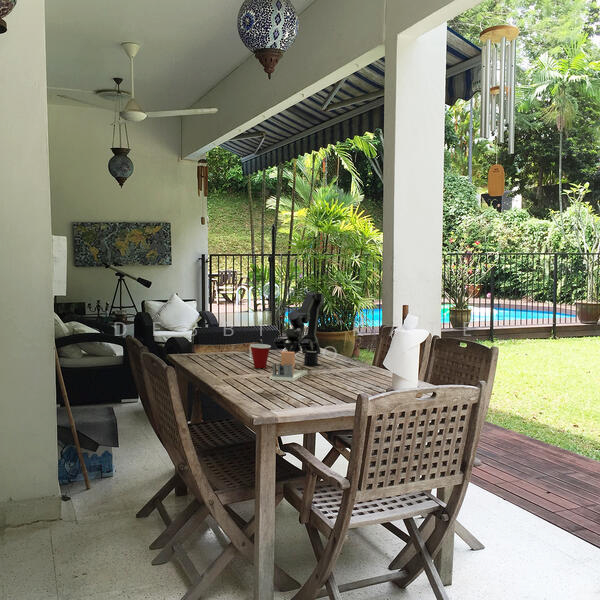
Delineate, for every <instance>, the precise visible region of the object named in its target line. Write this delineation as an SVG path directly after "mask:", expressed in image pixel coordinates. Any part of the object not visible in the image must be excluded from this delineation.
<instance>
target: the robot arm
mask: <svg viewBox="0 0 600 600" xmlns="http://www.w3.org/2000/svg"><path fill="white" fill-rule="evenodd" d="M324 301H325V295H324V294H323V293H322V292H315V291H306V293H305V297H304V300H303V302H302V304H301V306H300V307H299V308H298V309H295V308H294V309H293V310H292V311H289V313H288V314H287V318H288V321H289V324H290V325H291V327H292V328H286V331H285V336H286V339H287V340H285V341H284V338H282V337H275V338H274V340H273V344H274V346H275V349H277V350H284V349H285V350H286V351H287V352H295V355H296V354H298V353H299V352H302V354H304V359H303V364H302V365H303V366H308V367H314V366H320V364H319V363H318V361H319V359H318V358H319V355H321V346H320V345H319V340H318V338H317V331H318V330H317V328H318V321H319V313H320V309H321V308H322V307H323V305H324ZM305 324H307V333H306V335H303V333H304V332H305Z"/></svg>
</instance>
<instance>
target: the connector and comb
mask: <svg viewBox="0 0 600 600" xmlns="http://www.w3.org/2000/svg"><path fill="white" fill-rule="evenodd" d="M283 369H284V373H283V374H281V373H280V371H281V370H283ZM276 373H278V374H276ZM271 375H272V376H274V377H290V378H292V377H293V375H292V364H289V365H287V364H284V365H282V366H281V362H280V363H276V362H274V363H272V374H271Z"/></svg>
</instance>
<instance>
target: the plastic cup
mask: <svg viewBox="0 0 600 600" xmlns="http://www.w3.org/2000/svg"><path fill="white" fill-rule="evenodd" d="M249 346H250V349H251V356H252V361H253V367H254V369H256V368H264V369H266V368H267V362H268V358H269V352H270V349H271V347H272V346H271V345H270V344H264V343H263V344H262V343H251V344H250V345H249Z"/></svg>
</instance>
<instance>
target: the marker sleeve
mask: <svg viewBox="0 0 600 600" xmlns="http://www.w3.org/2000/svg"><path fill="white" fill-rule="evenodd" d="M280 363H281V366H282V365H284V364H287V365H289V364H292V373H294V370H295V368H296V367H295V365H296V354H295V352H288V351H287V350H285V351H283V350H282V351H281V352H280ZM294 367H295V368H294Z"/></svg>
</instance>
